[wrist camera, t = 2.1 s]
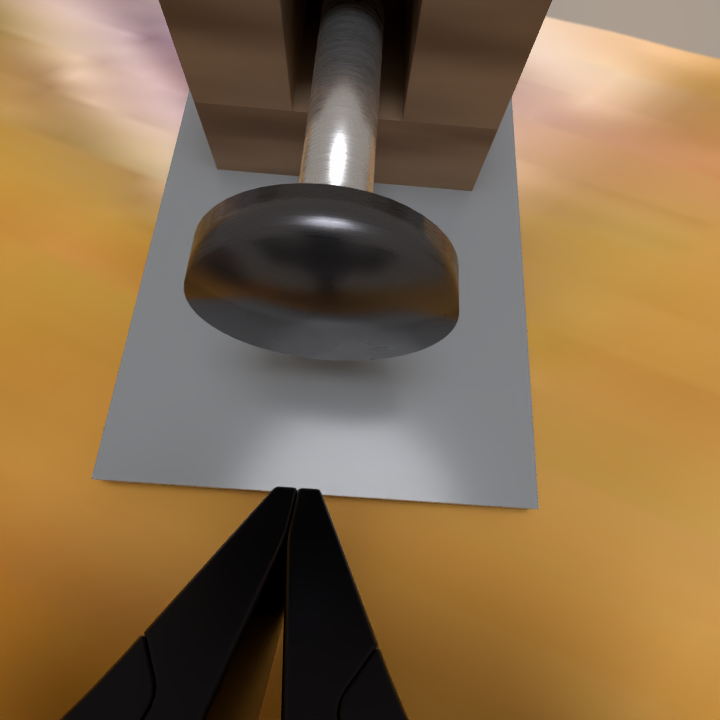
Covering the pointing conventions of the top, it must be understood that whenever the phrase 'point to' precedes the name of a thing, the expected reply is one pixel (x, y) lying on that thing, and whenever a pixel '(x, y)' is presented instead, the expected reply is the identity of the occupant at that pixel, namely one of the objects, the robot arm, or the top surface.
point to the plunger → (328, 230)
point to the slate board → (331, 367)
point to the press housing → (397, 82)
